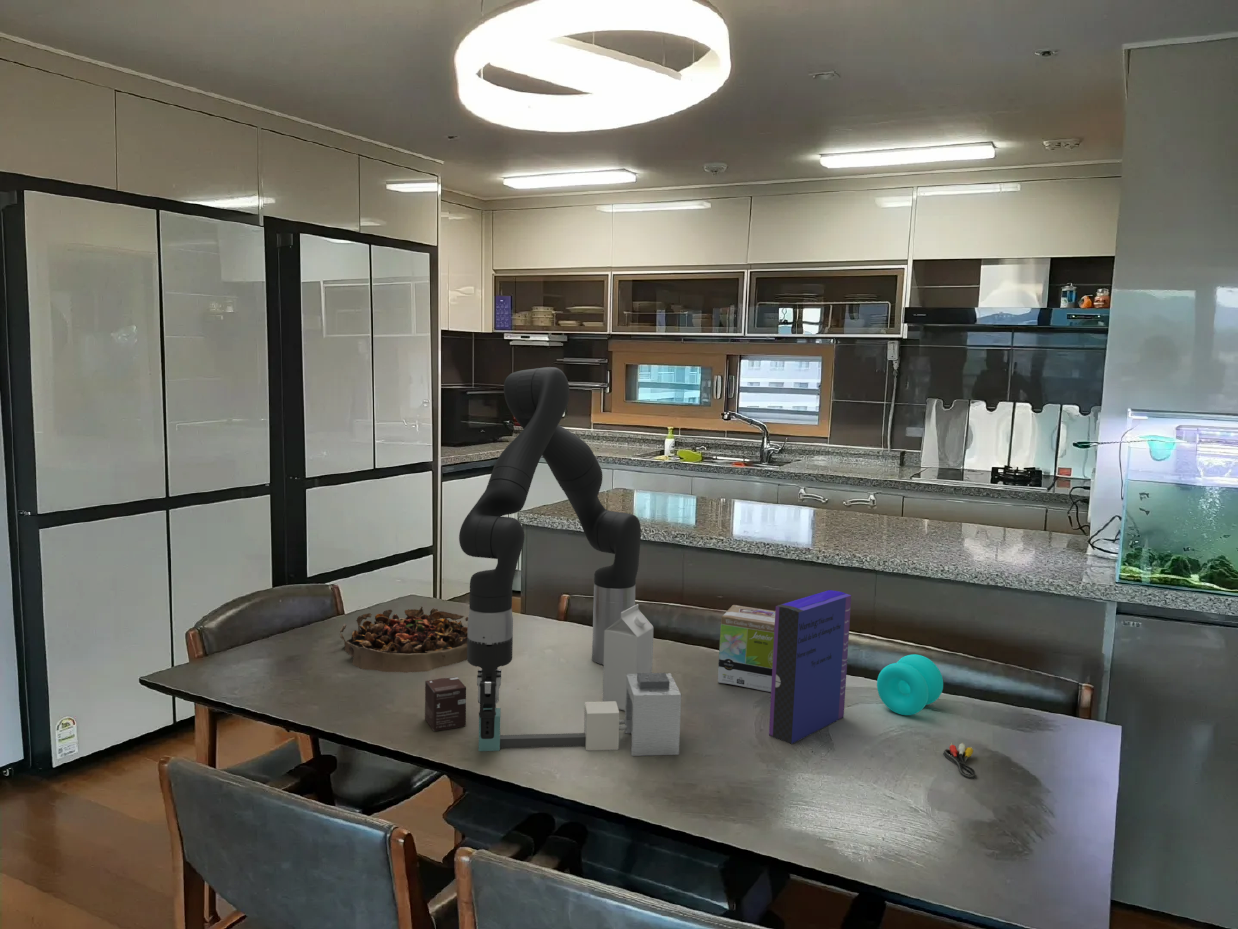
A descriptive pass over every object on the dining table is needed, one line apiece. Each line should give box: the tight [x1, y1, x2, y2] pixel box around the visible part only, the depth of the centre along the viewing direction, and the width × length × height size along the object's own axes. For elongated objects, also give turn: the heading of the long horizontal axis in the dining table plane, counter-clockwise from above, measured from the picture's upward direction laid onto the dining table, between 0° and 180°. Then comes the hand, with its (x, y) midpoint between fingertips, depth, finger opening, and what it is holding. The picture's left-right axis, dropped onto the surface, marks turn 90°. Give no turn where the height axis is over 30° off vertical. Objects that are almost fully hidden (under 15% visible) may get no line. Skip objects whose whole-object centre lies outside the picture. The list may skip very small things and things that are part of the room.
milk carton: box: [602, 603, 654, 711], centre depth 160 cm, size 7×7×19 cm
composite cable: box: [942, 742, 976, 780], centre depth 139 cm, size 10×5×2 cm, turn 162°
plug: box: [478, 701, 627, 752], centre depth 142 cm, size 5×25×6 cm, turn 97°
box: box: [424, 676, 467, 732], centre depth 149 cm, size 6×6×7 cm
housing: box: [623, 672, 682, 757], centre depth 143 cm, size 10×8×12 cm
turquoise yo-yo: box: [876, 653, 944, 716], centre depth 162 cm, size 10×10×10 cm
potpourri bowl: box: [339, 606, 468, 674], centre depth 190 cm, size 35×33×8 cm
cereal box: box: [768, 589, 852, 746], centre depth 151 cm, size 17×5×24 cm, turn 134°
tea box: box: [717, 604, 775, 693], centre depth 173 cm, size 15×10×15 cm, turn 68°
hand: (488, 727), depth 140 cm, fingers open, 8 cm apart
